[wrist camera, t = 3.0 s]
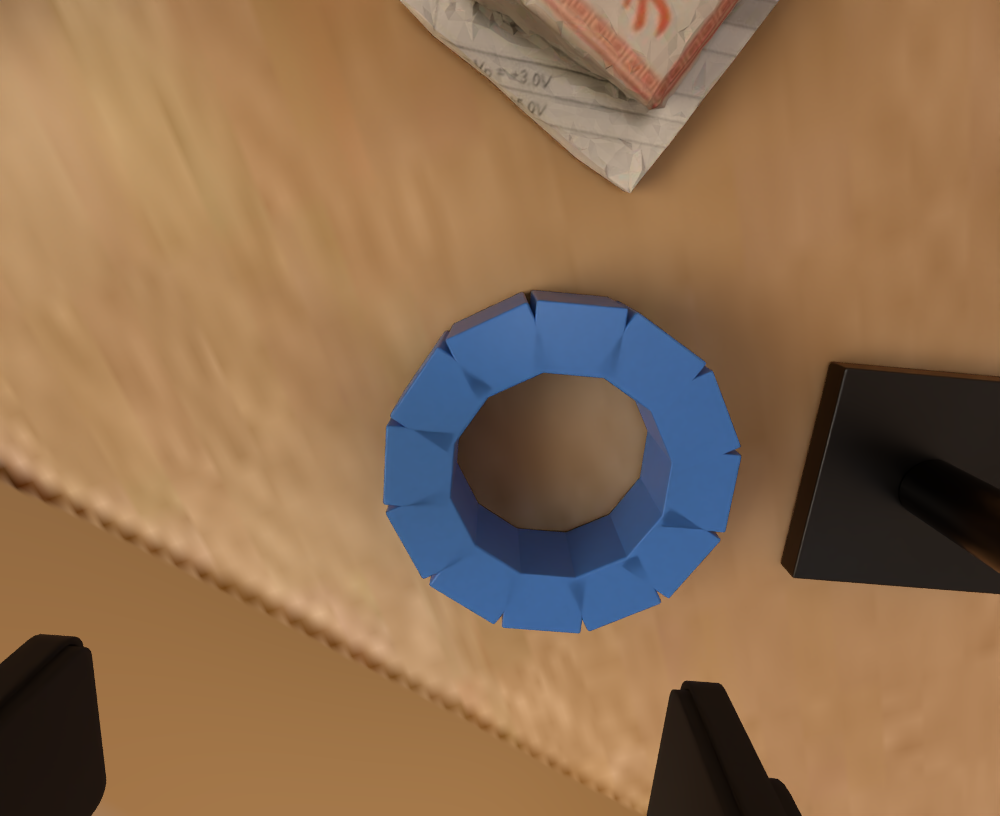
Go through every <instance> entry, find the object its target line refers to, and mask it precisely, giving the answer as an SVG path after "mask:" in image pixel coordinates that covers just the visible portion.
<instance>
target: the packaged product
mask: <svg viewBox="0 0 1000 816" xmlns="http://www.w3.org/2000/svg"><path fill="white" fill-rule="evenodd" d="M400 1H401V2H402V3H403V4H404V5H405V6H406V7H407V8H408V9H409V10H410V12H411V13H412V14H413V15H414V16H415V17H416V18H417V19H418V20H419V21H420V22H421V23H422V24H423V25H424V26H425V27H426V28H427V30H428V31H429V32H430V33H431V34H432V35H433V36H434V37H436V38H437V39H438V40H439V41H441V42H442V43H443V44H445V45H446V46H447V47H448V48H450V49H451V50H452V51H454V52H455V53H456V54H457V55H459V56H460V57H461V58H463V59H464V60H465V61H466V62H468V63H469V64H470V65H472V66H473V67H474V68H475V69H477V70H478V71H479V72H481V73H482V74H483V75H484V76H486V77H487V78H488V79H489V80H490V81H491V82H492V83H494V84H495V85H496V86H497V87H498V88H499V89H500V90H501V91H502V92H503V93H504V94H505V95H506V96H507V97H509V98H510V99H511V100H512V101H513V102H514V103H515V104H516V105H517V106H518V107H519V108H520V109H522V110H523V111H524V112H525V113H526V114H527V115H528V116H529V117H531V118H532V119H533V120H534V121H535V122H536V123H537V124H538V125H540V126H541V127H542V128H543V129H544V130H545V131H546V132H547V133H549V134H550V135H551V136H552V137H553V138H554V139H555V140H557V141H558V142H559V143H560V144H561V145H562V146H563V147H564V148H566V149H567V150H568V151H569V152H570V153H571V154H572V155H573V156H575V157H576V158H577V159H579V160H580V161H582V162H583V163H584V164H586V165H587V166H589V167H590V168H592V169H593V170H594V171H596V172H597V173H599V174H600V175H602V176H603V177H604V178H606V179H607V180H609V181H610V182H612V183H613V184H614V185H616V186H617V187H619V188H620V189H622V190H623V191H626V192H628V193H631V192H632V190H633V189H634V188H635V186H636V185H637V184H638V182H639V181H640V180H641V178H642V177H643V176H644V175H645V173H646V172H647V171H648V170H649V168H650V167H651V166H652V165H653V163H654V162H655V161H656V159H657V158H658V157H659V156H660V154H661V153H662V152H663V151H664V150H665V148H666V147H667V146H668V145H669V144H670V142H671V141H672V140H673V138H674V137H675V136H676V134H677V133H678V132H679V131H680V129H681V128H682V127H683V125H684V124H685V123H686V121H687V120H688V119H689V117H690V116H691V115H692V113H693V112H694V111H695V109H696V108H697V107H698V105H699V104H700V103H701V101H702V100H703V99H704V98H705V96H706V95H707V94H708V92H709V91H710V90H711V89H712V87H713V86H714V85H715V83H716V82H717V81H718V80H719V78H720V77H721V76H722V74H723V73H724V72H725V71H726V69H727V68H728V67H729V66H730V64H731V63H732V62H733V60H734V59H735V58H736V56H737V55H738V54H739V52H740V51H741V50H742V49H743V47H744V46H745V45H746V43H747V42H748V41H749V39H750V38H751V37H752V35H753V34H754V33H755V31H756V30H757V29H758V27H759V26H760V25H761V24H762V22H763V21H764V20H765V18H766V17H767V16H768V14H769V13H770V12H771V10H772V9H773V8H774V6H775V5H776V4H777V2H778V1H779V0H400Z"/></svg>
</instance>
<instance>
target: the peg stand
mask: <svg viewBox="0 0 1000 816" xmlns="http://www.w3.org/2000/svg"><path fill="white" fill-rule="evenodd" d="M781 564H782V566H783V567H784V568H785V569H786V570H787V571H788V573H789V574H790V575H791V576H792V577H793V578H801V579H814V580H827V581H839V582H852V583H865V584H877V585H890V586H903V587H916V588H928V589H941V590H954V591H966V592H979V593H992V594H1000V377H996V376H985V375H974V374H962V373H951V372H940V371H929V370H918V369H907V368H896V367H885V366H873V365H862V364H851V363H840V362H831V363H830V365H829V369H828V373H827V377H826V382H825V386H824V390H823V394H822V398H821V402H820V406H819V410H818V414H817V418H816V422H815V426H814V430H813V434H812V438H811V442H810V447H809V451H808V455H807V459H806V463H805V467H804V471H803V475H802V479H801V483H800V487H799V491H798V495H797V499H796V503H795V508H794V512H793V516H792V520H791V524H790V528H789V532H788V536H787V540H786V544H785V548H784V552H783V556H782V560H781Z"/></svg>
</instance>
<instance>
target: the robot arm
mask: <svg viewBox="0 0 1000 816" xmlns="http://www.w3.org/2000/svg"><path fill="white" fill-rule="evenodd" d="M105 786H106V773H105V764H104V756H103V747H102V738H101V730H100V722H99V712H98V705H97V695H96V687H95V678H94V670H93V661H92V654H91V651H90V650H89V649H88V648H86V647H84V646H83V643H82V641H81V640H80V639H79V638H78V637H73V636H59V635H45V634H39V635H35V636H33V637H32V638H30V639H29V640H28V641H27V642H25V643H24V644H23V645H22V646H21V647H19V648H18V649H17V650H16V651H15V652H14V653H12V654H11V655H10V656H9V657H8V658H7V659H5V660H4V661H3V662H2V663H1V664H0V816H91V815H92V814H93V812H94V811H95V810H96V808H97V806H98V805H99V803H100V801H101V799H102V797H103V793H104V790H105ZM647 816H802V815H801V813H800V811H799V810H798V808H797V806H796V804H795V802H794V800H793V798H792V796H791V794H790V793H789V791H788V789H787V788H786V786H785V785H784V784H783V783H782V782H781V781H780V780H778V779H775V778H768V776H767V774H766V772H765V770H764V768H763V766H762V764H761V762H760V760H759V757H758V755H757V753H756V751H755V749H754V747H753V745H752V743H751V741H750V739H749V737H748V735H747V733H746V731H745V729H744V727H743V725H742V723H741V721H740V719H739V717H738V715H737V713H736V711H735V709H734V707H733V705H732V703H731V701H730V699H729V697H728V695H727V693H726V691H725V689H724V687H723V686H722V685H721V684H719V683H710V682H697V681H684V682H683V684H682V686H681V689H680V690H672V691H671V693H670V696H669V702H668V707H667V712H666V717H665V722H664V728H663V733H662V738H661V743H660V749H659V754H658V759H657V764H656V770H655V775H654V780H653V785H652V790H651V796H650V801H649V806H648V811H647Z"/></svg>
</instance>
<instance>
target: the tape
mask: <svg viewBox="0 0 1000 816" xmlns="http://www.w3.org/2000/svg"><path fill="white" fill-rule="evenodd" d="M705 365H706V362H705V361H703V360H702V359H701V358H699V357H698V356H697V355H695V354H694V353H693V352H691V351H690V350H689V349H687V348H686V347H685V346H683V345H682V344H681V343H679V342H678V341H677V340H675V339H674V338H672V337H671V336H670V335H668V334H667V333H666V332H664V331H663V330H662V329H660V328H659V327H658V326H656V325H655V324H654V323H652V322H651V321H650V320H648V319H647V318H646V317H644V316H643V315H641V314H640V313H639V312H637V311H635V310H633V309H632V308H630V307H628V306H626V305H625V304H623V303H621V302H619V301H614V300H612V299H610V298H609V297H603V296H592V295H581V294H570V293H560V292H549V291H538V290H532V291H531V296H530V306H529V304H528V301H527V299H526V297H525V295H524V293H523V292H521V293H518V294H516V295H514V296H512V297H510V298H508V299H506V300H503V301H501V302H499V303H497V304H495V305H493V306H491V307H488V308H486V309H484V310H482V311H480V312H478V313H476V314H473V315H471V316H469V317H467V318H465V319H463V320H461V321H458V322H456V323H454V324H453V326H452V328H451V330H450V332H448V331H445V332H444V333H443V335H442V336H441V338H440V339H439V340H438V342H437V343H436V345H435V346H434V348H433V349H432V351H431V352H430V354H429V355H428V357H427V358H426V360H425V361H424V362H423V364H422V365H421V367H420V368H419V370H418V371H417V373H416V374H415V376H414V377H413V379H412V380H411V381H410V383H409V384H408V386H407V387H406V389H405V390H404V392H403V394H402V396H401V397H400V399H399V401H398V402H397V404H396V406H395V408H394V409H393V411H392V413H391V415H390V417H391V419H390V421H389V423H388V425H387V426H386V446H385V470H384V494H383V503H384V504H385V505H389V506H388V508H387V511H386V515H387V517H388V518H389V520H390V522H391V524H392V525H393V527H394V529H395V531H396V533H397V534H398V536H399V538H400V540H401V541H402V543H403V545H404V547H405V548H406V550H407V552H408V554H409V556H410V557H411V559H412V561H413V563H414V564H415V566H416V568H417V570H418V572H419V573H420V575H421V577H422V578H423V579H425V578H427V577H429V576H431V579H430V584H429V585H430V586H431V587H433V588H434V589H436V590H438V591H439V592H441V593H443V594H444V595H446V596H448V597H449V598H451V599H453V600H454V601H456V602H458V603H459V604H461V605H463V606H464V607H466V608H468V609H469V610H471V611H473V612H474V613H476V614H477V615H479V616H481V617H482V618H484V619H486V620H487V621H489V622H491V623H492V624H495V623H496V622H497V620H498V619H499V618H500V617H501V616H502V627H503V628H514V629H528V630H541V631H554V632H568V633H580V631H581V624H582V620H583V622H584V624H585V626H586V628H587V630H588V631H592V630H594V629H597V628H599V627H602V626H604V625H607V624H609V623H612V622H615V621H617V620H620V619H622V618H625V617H627V616H630V615H632V614H635V613H637V612H640V611H643V610H645V609H648V608H650V607H653V606H655V605H658V604H660V603H661V600H660V598H659V595H658V593H657V591H658V592H660V593H661V594H663V595H664V596H666V597H667V598H670V597H671V595H672V594H673V593H674V592H675V591H676V590H677V589H678V588H679V586H680V585H681V584H682V583H683V582H684V581H685V580H686V579H687V578H688V576H689V575H690V574H691V573H692V572H693V571H694V570H695V569H696V567H697V566H698V565H699V564H700V563H701V562H702V561H703V560H704V558H705V557H706V556H707V555H708V554H709V553H710V552H711V551H712V549H713V548H714V547H715V546H716V545H717V544H718V543H719V542H720V538H719V537H718V535H717V534H716V533H715V532H725V530H726V526H727V521H728V516H729V512H730V507H731V502H732V498H733V493H734V488H735V484H736V479H737V474H738V470H739V465H740V460H741V455H740V454H739V453H738V452H737V451H736V450H735V449H737V448H739V447H741V445H740V443H739V440H738V437H737V435H736V432H735V429H734V427H733V424H732V421H731V419H730V416H729V413H728V410H727V408H726V405H725V402H724V400H723V397H722V394H721V392H720V389H719V386H718V384H717V381H716V378H715V376H714V373H713V371H712V370H710V369H709V368H707V367H705ZM542 373H551V374H563V375H574V376H586V377H597V378H604V379H606V380H607V381H608V382H610V383H611V384H613V385H614V386H616V387H617V388H618V389H620V390H621V391H623V392H624V393H625V394H627V395H628V396H630V397H631V398H632V399H634V400H635V402H636V404H637V406H638V409H639V411H640V414H641V416H642V418H643V421H644V423H645V426H646V428H647V430H648V432H647V438H646V444H645V450H644V456H643V462H642V468H641V474H640V478H639V479H638V480H637V482H636V483H635V484H634V485H633V486H632V488H631V489H630V490H629V491H628V493H627V494H626V495H625V496H624V497H623V499H622V500H621V501H620V502H619V503H618V505H617V506H616V507H615V508H614V509H613V511H612V512H611V513H610V514H609V515H607V516H605V517H602V518H600V519H597V520H595V521H592V522H590V523H588V524H585V525H583V526H580V527H578V528H576V529H573V530H571V531H568V532H554V531H542V530H529V529H517V528H515V527H514V526H512V525H511V524H509V523H508V522H506V521H504V520H503V519H501V518H500V517H498V516H497V515H495V514H494V513H492V512H490V511H489V510H487V509H486V508H484V507H483V506H481V505H479V504H478V502H477V500H476V498H475V496H474V494H473V492H472V490H471V488H470V486H469V485H468V483H467V481H466V479H465V477H464V475H463V473H462V471H461V469H460V467H459V465H458V463H457V457H458V444H459V437H460V436H461V435H462V433H463V432H464V431H465V429H466V428H467V426H468V425H469V424H470V422H471V421H472V420H473V418H474V417H475V415H476V414H477V413H478V411H479V410H480V408H481V407H482V406H483V404H484V403H485V402H486V400H487V399H488V397H490V396H493V395H495V394H497V393H499V392H502V391H504V390H506V389H508V388H511V387H513V386H515V385H517V384H519V383H522V382H524V381H526V380H528V379H531V378H533V377H535V376H537V375H540V374H542ZM656 590H657V591H656Z"/></svg>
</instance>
